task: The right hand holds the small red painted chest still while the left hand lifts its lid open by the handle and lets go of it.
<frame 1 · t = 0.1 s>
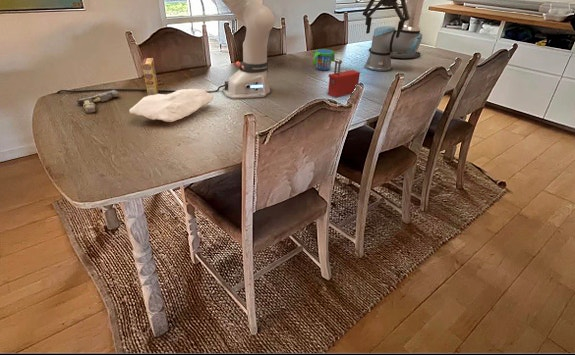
right hand: (382, 35, 162), 28 cm above the table, tool pointing down, fingers open, 13 cm apart
lid: (345, 66, 171), point 13 cm above the table, hinge at 0.0°
crumpled cloth: (172, 113, 149), on the table
chest: (342, 93, 178), on the table
candy box: (153, 94, 167), on the table
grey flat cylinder: (393, 52, 251), on the table
snack cup: (323, 69, 212), on the table
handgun: (101, 103, 156), on the table
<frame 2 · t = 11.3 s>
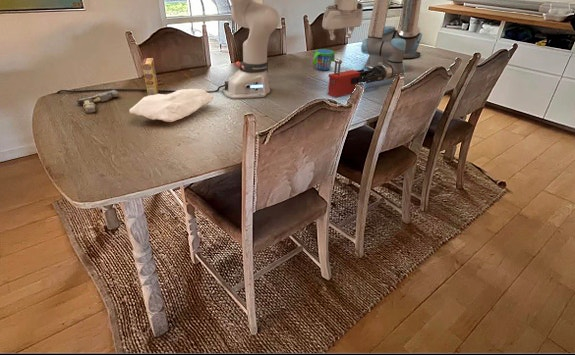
left hand: (340, 38, 162), 26 cm above the table, tool pointing down, fingers open, 8 cm apart
right hand: (347, 79, 176), 7 cm above the table, tool horizontal, fingers closed on chest, 5 cm apart
chest: (342, 93, 178), on the table, touching right hand
everything else where it was.
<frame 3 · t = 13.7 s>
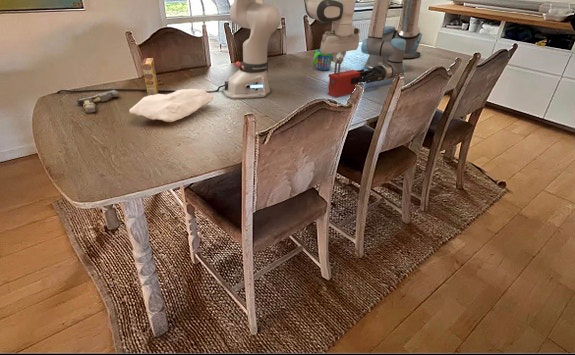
left hand: (338, 61, 167), 16 cm above the table, tool pointing down, fingers closed on lid, 2 cm apart
right hand: (347, 79, 176), 7 cm above the table, tool horizontal, fingers closed on chest, 5 cm apart
lid: (345, 66, 171), point 13 cm above the table, hinge at 0.0°, touching left hand
chest: (342, 93, 178), on the table, touching right hand
everything else where it was.
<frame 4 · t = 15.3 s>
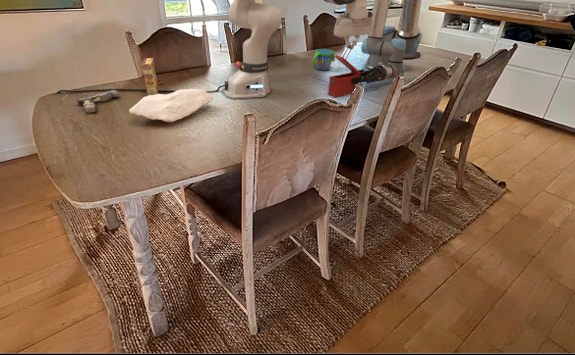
left hand: (350, 45, 167), 22 cm above the table, tool pointing down, fingers closed
right hand: (347, 79, 176), 6 cm above the table, tool horizontal, fingers closed on chest, 5 cm apart
lid: (351, 58, 171), point 17 cm above the table, hinge at 34.3°, touching left hand
chest: (342, 93, 178), on the table, touching right hand
everything else where it was.
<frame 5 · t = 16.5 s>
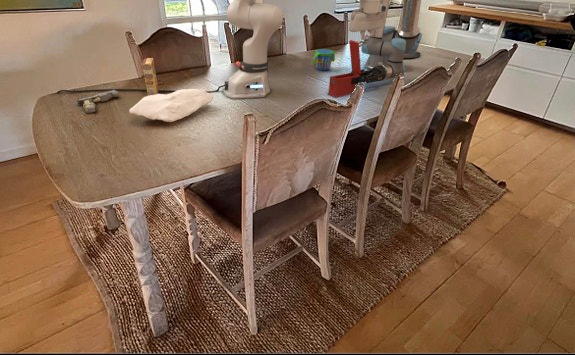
left hand: (365, 39, 170), 24 cm above the table, tool pointing down, fingers closed, pressing on lid
right hand: (347, 79, 176), 6 cm above the table, tool horizontal, fingers closed on chest, 5 cm apart
lid: (360, 54, 173), point 18 cm above the table, hinge at 72.9°, touching left hand
chest: (343, 93, 178), on the table, touching right hand
everything else where it was.
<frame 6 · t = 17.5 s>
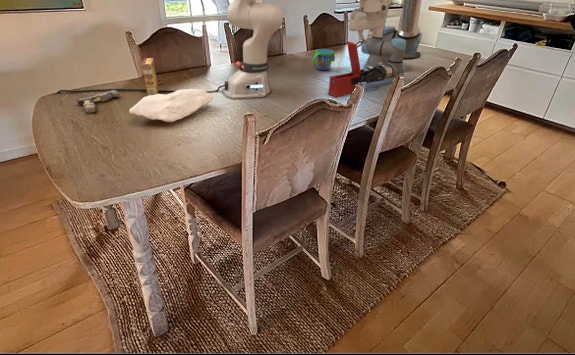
left hand: (365, 39, 170), 24 cm above the table, tool pointing down, fingers open, 4 cm apart
right hand: (347, 79, 176), 6 cm above the table, tool horizontal, fingers closed on chest, 5 cm apart
lid: (359, 54, 172), point 18 cm above the table, hinge at 67.1°, touching left hand
chest: (343, 93, 178), on the table, touching right hand
everything else where it was.
when the right hand's fingers open (6 cm above the table, at t = 20.6 s): chest stays where it is, on the table.
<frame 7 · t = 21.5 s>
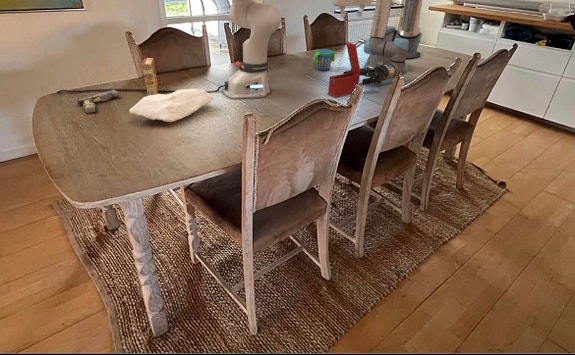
left hand: (351, 16, 159), 35 cm above the table, tool pointing down, fingers open, 8 cm apart
right hand: (352, 78, 178), 6 cm above the table, tool horizontal, fingers open, 13 cm apart
lid: (359, 54, 172), point 18 cm above the table, hinge at 66.1°
chest: (342, 93, 178), on the table
everything else where it was.
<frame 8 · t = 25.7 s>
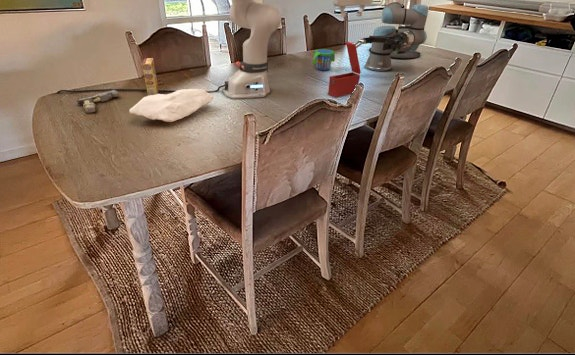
left hand: (351, 16, 159), 35 cm above the table, tool pointing down, fingers open, 8 cm apart
right hand: (373, 44, 175), 22 cm above the table, tool horizontal, fingers open, 13 cm apart
nothing on the table moved.
at the end: lid at +66° (first picture: +0°); the left hand is holding nothing; the right hand is holding nothing; chest tilted 0°; chest never tilted more than 1° during the clip; chest moved 0.1 cm from its start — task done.
